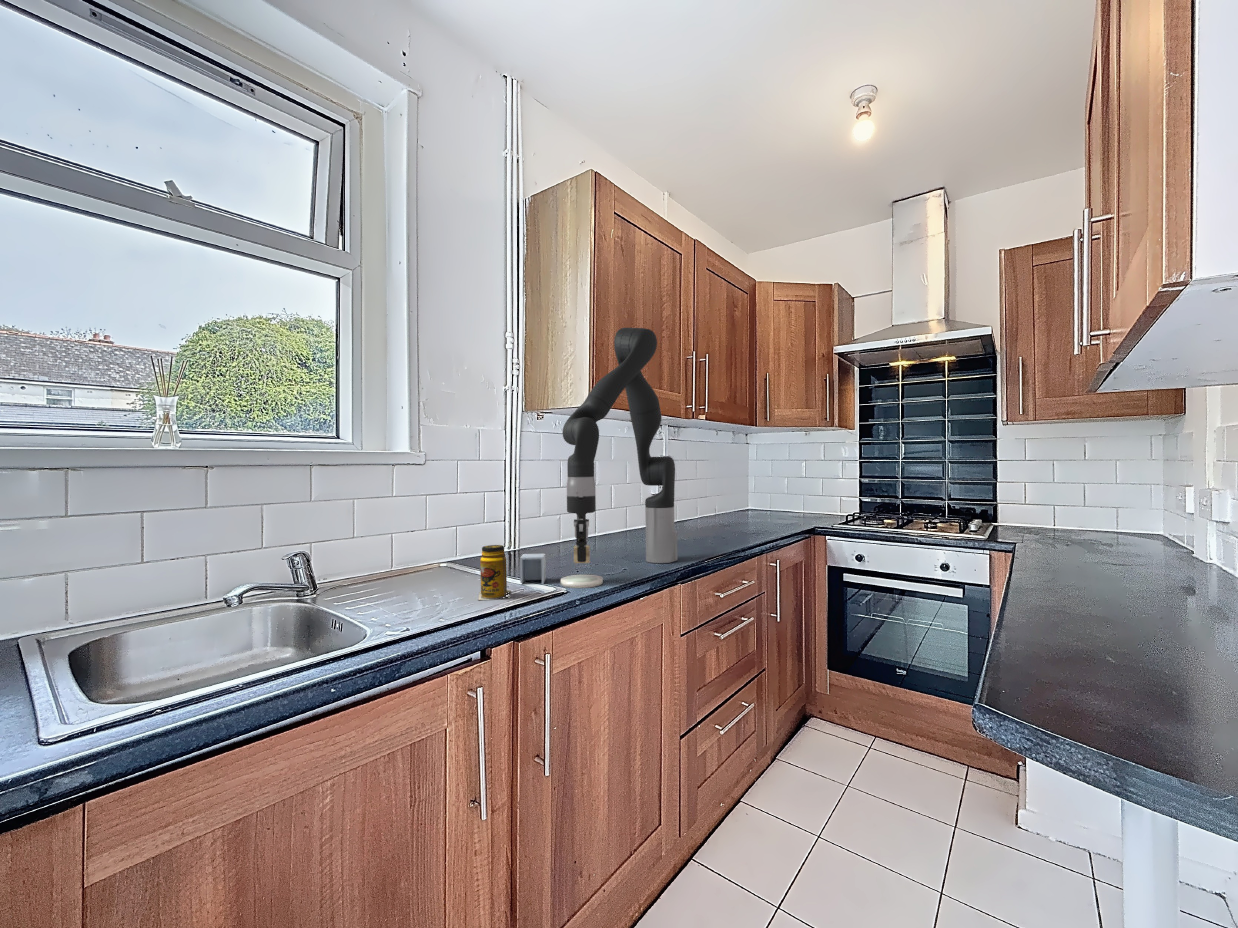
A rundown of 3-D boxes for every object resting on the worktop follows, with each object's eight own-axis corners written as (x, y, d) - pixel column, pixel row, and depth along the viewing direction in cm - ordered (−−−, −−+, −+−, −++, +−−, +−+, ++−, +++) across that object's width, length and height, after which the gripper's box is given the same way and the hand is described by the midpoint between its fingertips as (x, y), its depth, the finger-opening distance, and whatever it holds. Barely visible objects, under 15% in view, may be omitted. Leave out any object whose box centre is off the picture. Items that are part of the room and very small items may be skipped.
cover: (523, 579, 151) (523, 553, 151) (545, 579, 152) (545, 553, 152) (520, 584, 145) (520, 557, 145) (543, 583, 146) (543, 557, 146)
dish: (589, 577, 153) (589, 572, 153) (610, 584, 144) (610, 579, 144) (553, 582, 147) (553, 577, 147) (573, 589, 138) (573, 584, 138)
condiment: (478, 600, 129) (477, 548, 129) (479, 592, 137) (479, 543, 137) (510, 598, 130) (509, 547, 130) (510, 590, 138) (509, 542, 138)
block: (574, 560, 147) (574, 545, 147) (589, 560, 148) (589, 545, 148) (573, 563, 143) (573, 547, 143) (589, 562, 144) (589, 547, 144)
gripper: (567, 493, 153) (568, 556, 152) (565, 495, 138) (566, 565, 138) (595, 492, 153) (596, 555, 153) (595, 495, 139) (596, 564, 139)
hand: (581, 559), depth 145 cm, fingers closed on block, 4 cm apart
